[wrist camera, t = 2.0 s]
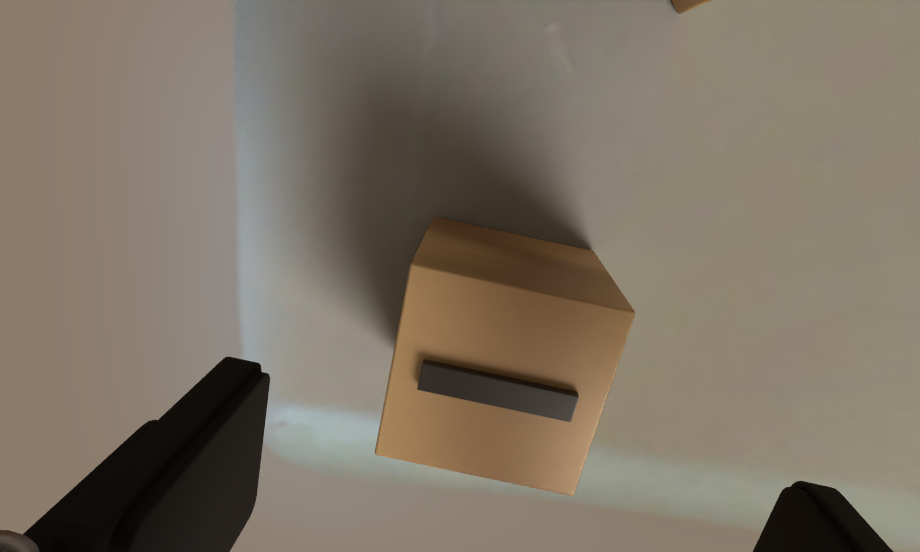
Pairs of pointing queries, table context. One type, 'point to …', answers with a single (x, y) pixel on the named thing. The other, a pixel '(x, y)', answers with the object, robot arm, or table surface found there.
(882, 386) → the table surface
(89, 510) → the robot arm
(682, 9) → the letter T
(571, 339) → the letter I
